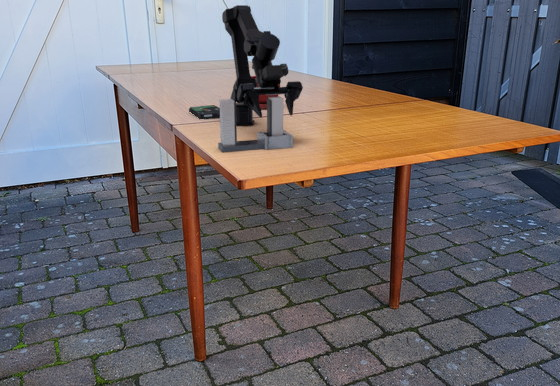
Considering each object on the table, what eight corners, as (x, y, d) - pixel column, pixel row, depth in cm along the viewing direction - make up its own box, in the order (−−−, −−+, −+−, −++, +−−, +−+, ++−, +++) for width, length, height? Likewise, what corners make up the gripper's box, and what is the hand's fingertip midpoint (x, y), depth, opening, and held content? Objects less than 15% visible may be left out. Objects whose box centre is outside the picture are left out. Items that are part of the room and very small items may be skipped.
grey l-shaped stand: (217, 146, 155) (215, 98, 151) (284, 141, 162) (284, 94, 157) (223, 153, 149) (222, 102, 144) (292, 147, 155) (293, 99, 151)
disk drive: (227, 119, 196) (214, 111, 208) (227, 111, 195) (214, 104, 207) (200, 121, 192) (188, 113, 204) (200, 113, 191) (188, 106, 203)
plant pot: (276, 110, 208) (276, 79, 204) (243, 109, 211) (243, 78, 207) (283, 104, 220) (283, 75, 216) (252, 103, 223) (251, 74, 219)
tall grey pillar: (266, 139, 158) (266, 97, 153) (279, 138, 159) (279, 96, 155) (270, 142, 155) (270, 98, 151) (283, 141, 156) (283, 98, 152)
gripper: (238, 54, 149) (250, 100, 143) (301, 53, 155) (315, 97, 149) (232, 79, 159) (243, 123, 153) (291, 77, 165) (303, 119, 159)
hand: (276, 115), depth 153 cm, fingers open, 9 cm apart
